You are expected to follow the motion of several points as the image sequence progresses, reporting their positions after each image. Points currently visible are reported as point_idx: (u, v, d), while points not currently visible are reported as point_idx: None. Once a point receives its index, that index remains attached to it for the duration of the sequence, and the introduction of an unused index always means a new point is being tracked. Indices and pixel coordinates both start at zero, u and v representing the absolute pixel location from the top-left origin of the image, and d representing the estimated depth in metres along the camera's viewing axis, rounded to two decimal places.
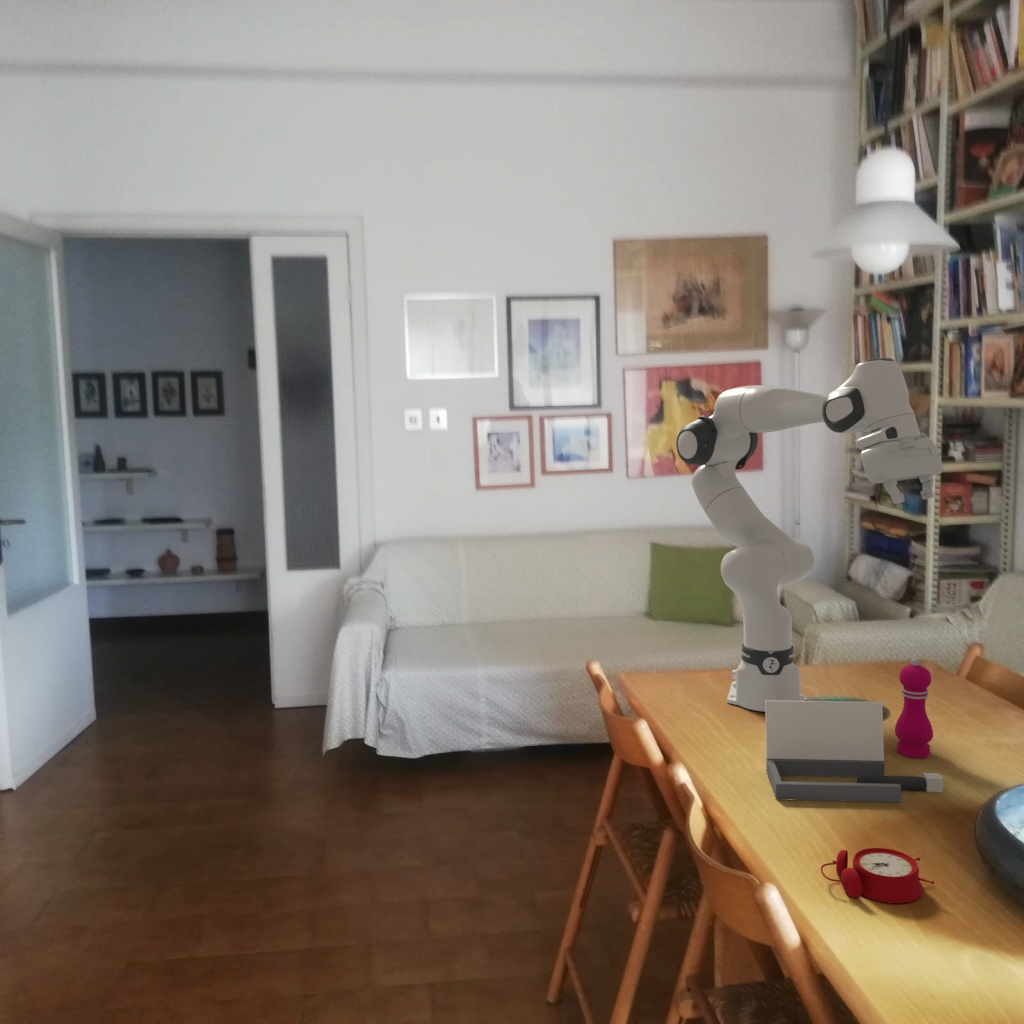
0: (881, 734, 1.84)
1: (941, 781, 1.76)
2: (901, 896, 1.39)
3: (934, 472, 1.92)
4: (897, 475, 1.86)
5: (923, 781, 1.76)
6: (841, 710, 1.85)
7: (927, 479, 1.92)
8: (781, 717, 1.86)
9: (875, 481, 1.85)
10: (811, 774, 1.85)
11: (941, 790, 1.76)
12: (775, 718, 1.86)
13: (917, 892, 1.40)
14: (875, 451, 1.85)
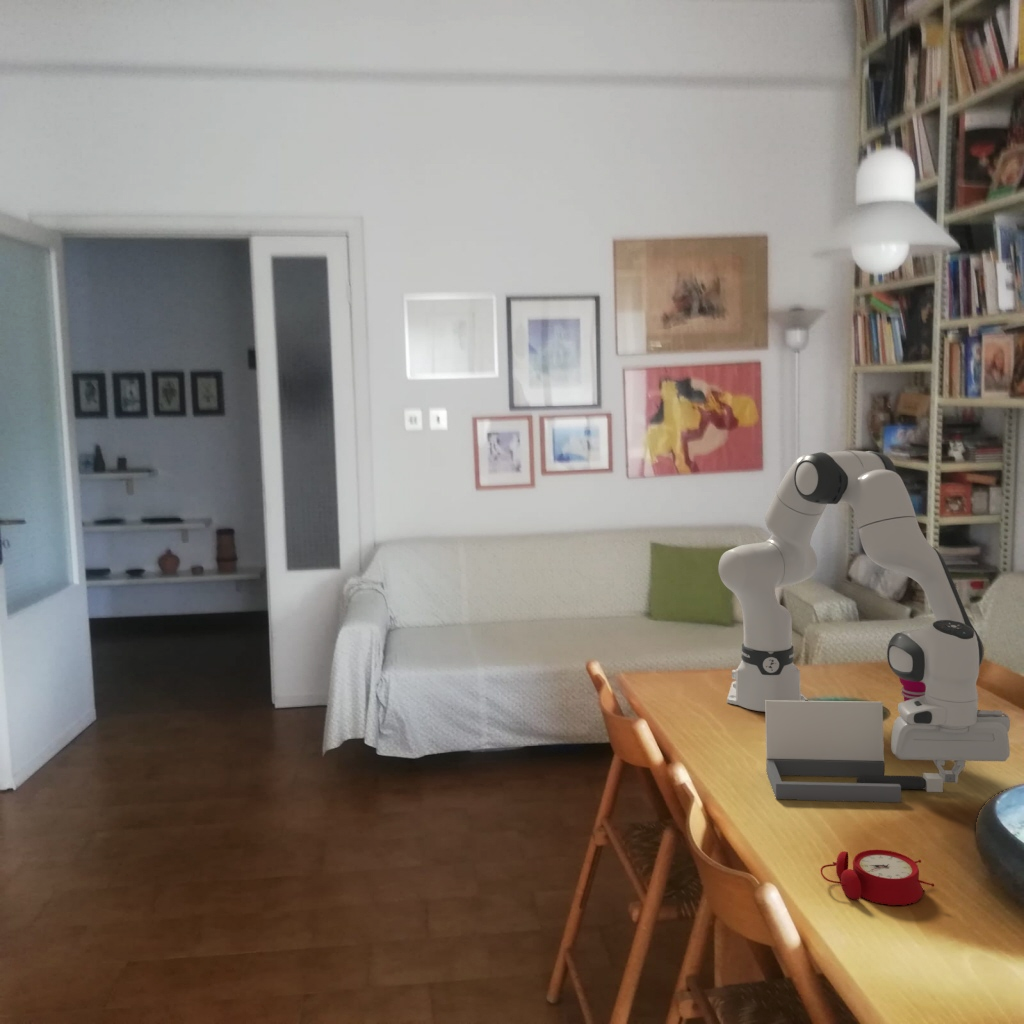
0: (881, 734, 1.84)
1: (941, 781, 1.76)
2: (901, 898, 1.38)
3: (989, 760, 1.74)
4: (921, 757, 1.75)
5: (923, 781, 1.76)
6: (841, 710, 1.85)
7: (956, 763, 1.76)
8: (781, 717, 1.86)
9: None
10: (811, 774, 1.85)
11: (941, 790, 1.76)
12: (775, 718, 1.86)
13: (917, 894, 1.40)
14: (899, 728, 1.75)
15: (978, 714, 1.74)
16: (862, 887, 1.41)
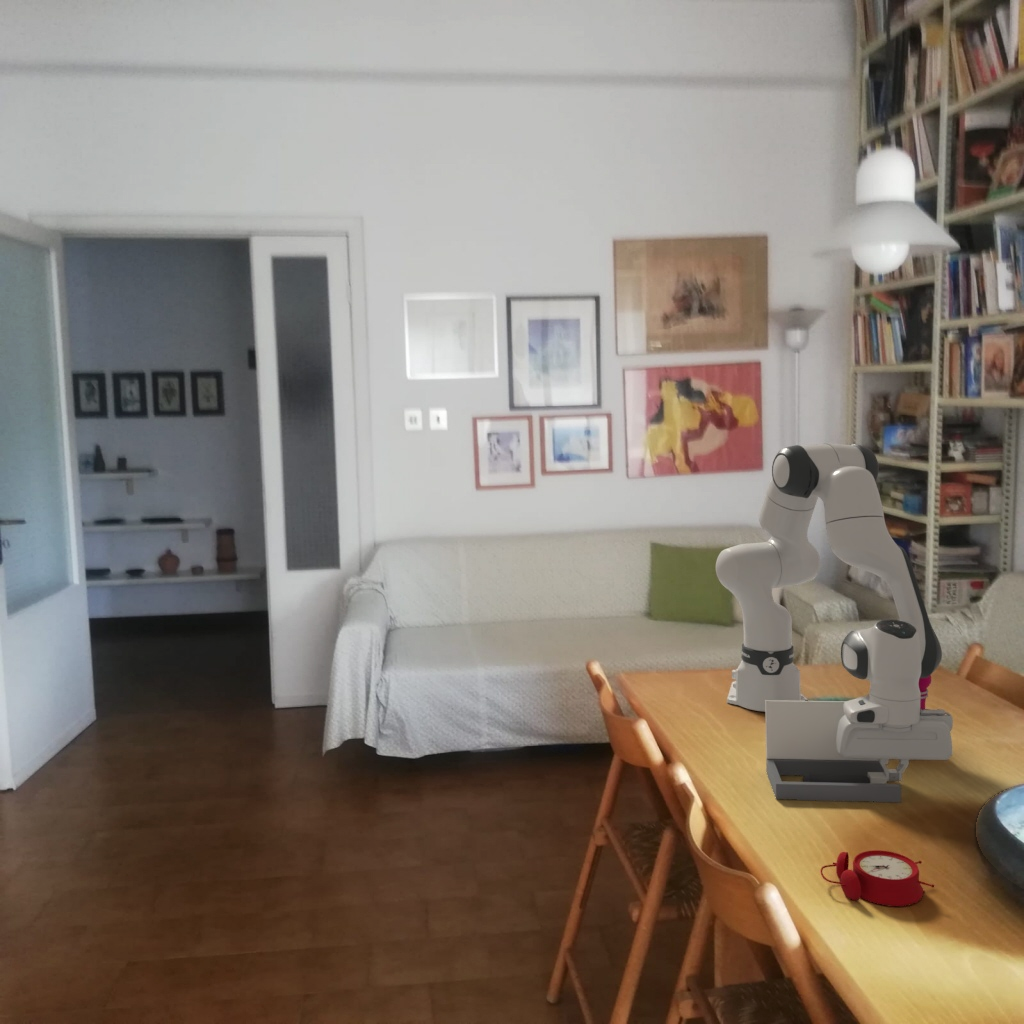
0: None
1: (885, 780, 1.77)
2: (901, 899, 1.38)
3: (932, 759, 1.75)
4: (865, 756, 1.76)
5: (867, 780, 1.78)
6: (841, 710, 1.85)
7: (900, 762, 1.77)
8: (781, 717, 1.86)
9: None
10: None
11: None
12: (775, 718, 1.86)
13: (917, 895, 1.39)
14: (843, 727, 1.77)
15: (921, 713, 1.75)
16: (862, 888, 1.41)
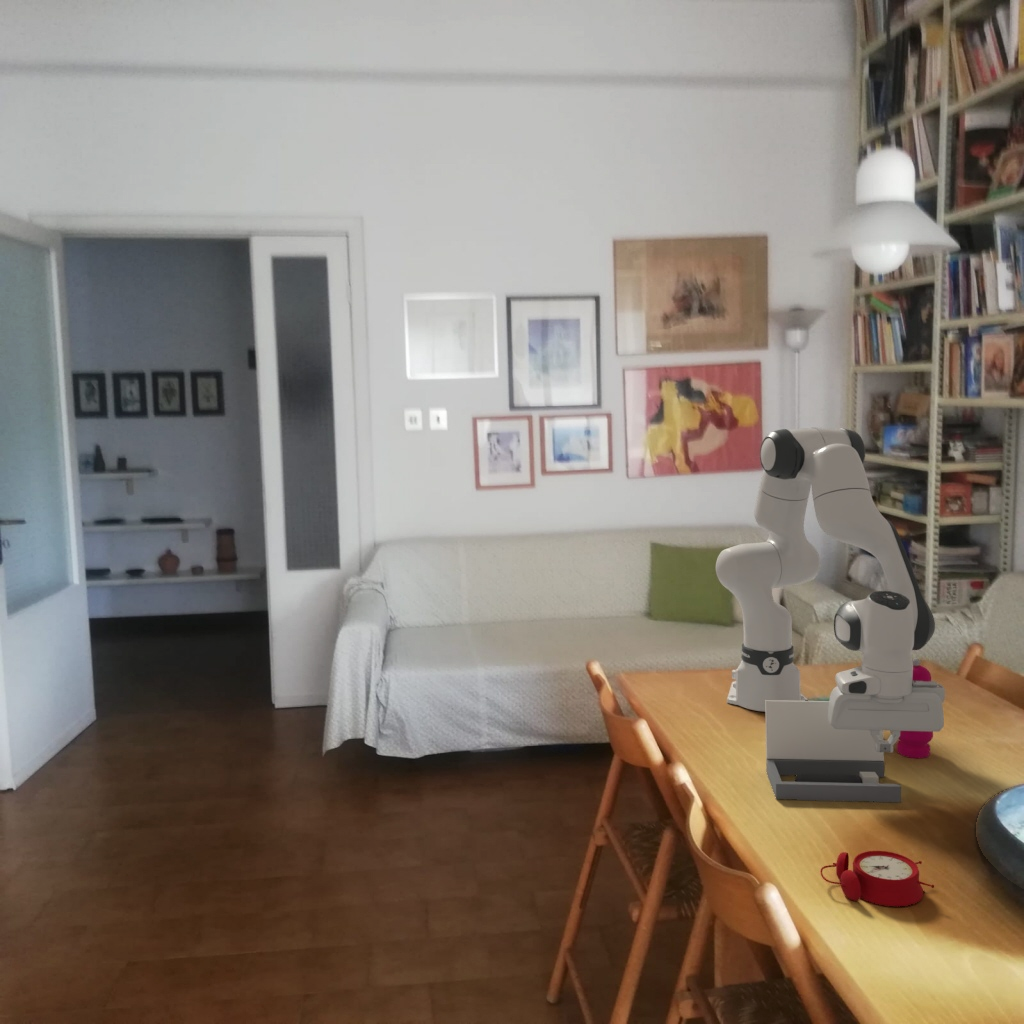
0: (881, 734, 1.84)
1: (877, 779, 1.77)
2: (901, 899, 1.38)
3: (924, 730, 1.75)
4: (856, 727, 1.76)
5: (859, 780, 1.78)
6: None
7: (892, 733, 1.77)
8: (781, 717, 1.86)
9: None
10: None
11: None
12: (775, 718, 1.86)
13: (917, 895, 1.39)
14: (834, 698, 1.76)
15: (913, 685, 1.75)
16: (862, 888, 1.41)
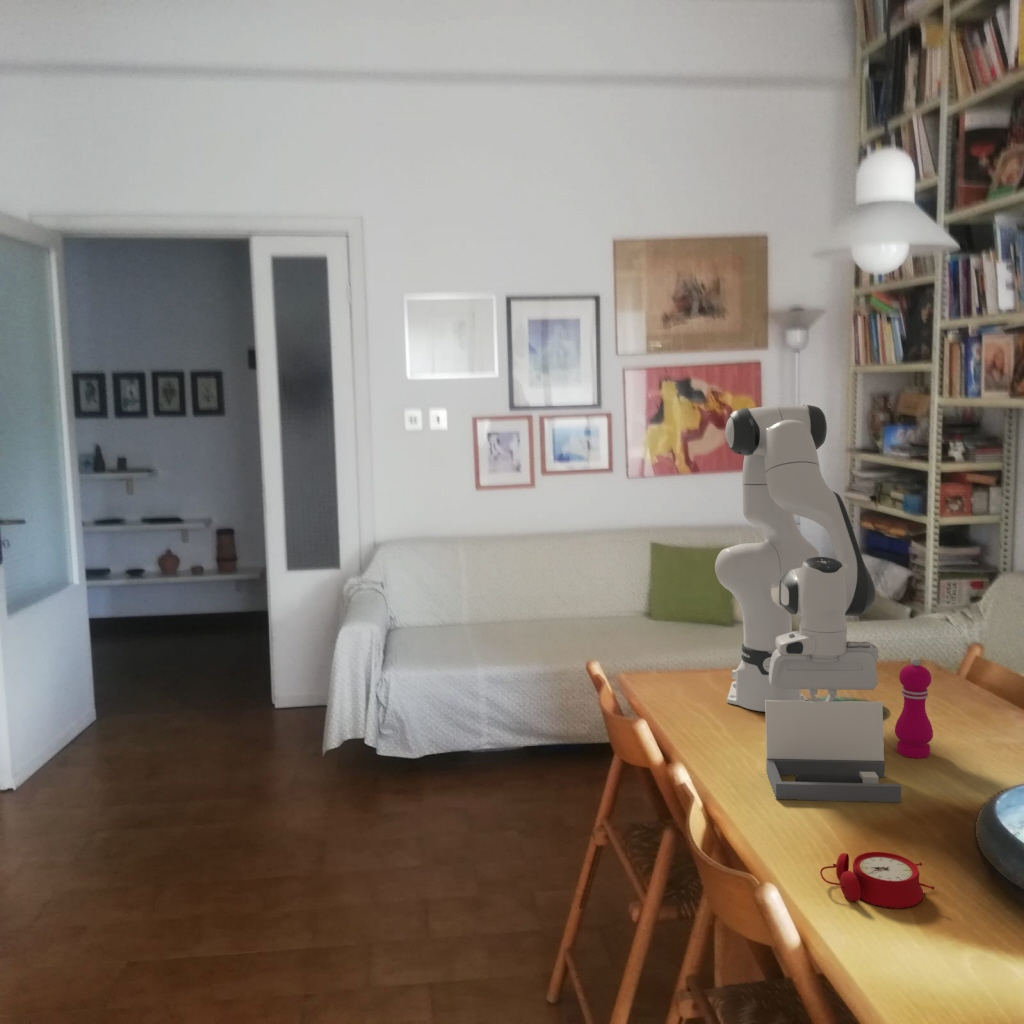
0: (881, 734, 1.83)
1: (877, 780, 1.77)
2: (900, 901, 1.38)
3: (859, 689, 1.84)
4: (795, 687, 1.85)
5: (859, 780, 1.78)
6: (841, 710, 1.85)
7: (829, 692, 1.86)
8: (781, 717, 1.86)
9: None
10: None
11: None
12: (775, 718, 1.86)
13: (917, 897, 1.39)
14: (774, 659, 1.86)
15: (848, 645, 1.84)
16: (861, 889, 1.40)
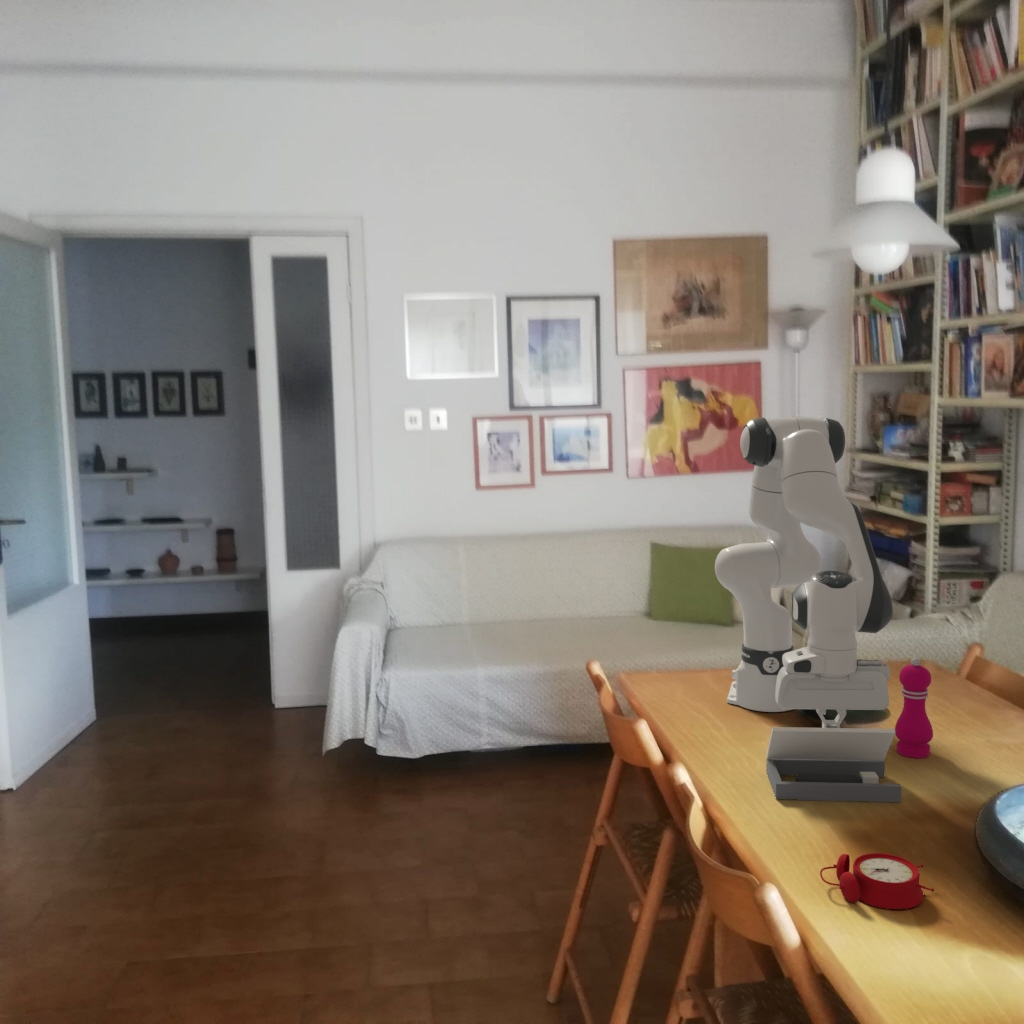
0: (887, 748, 1.80)
1: (877, 780, 1.77)
2: (899, 902, 1.37)
3: (869, 709, 1.76)
4: (803, 707, 1.77)
5: (859, 780, 1.78)
6: (850, 736, 1.77)
7: (838, 712, 1.78)
8: (787, 739, 1.80)
9: None
10: None
11: None
12: (780, 739, 1.80)
13: (917, 899, 1.38)
14: (780, 678, 1.77)
15: (858, 663, 1.76)
16: (861, 890, 1.40)
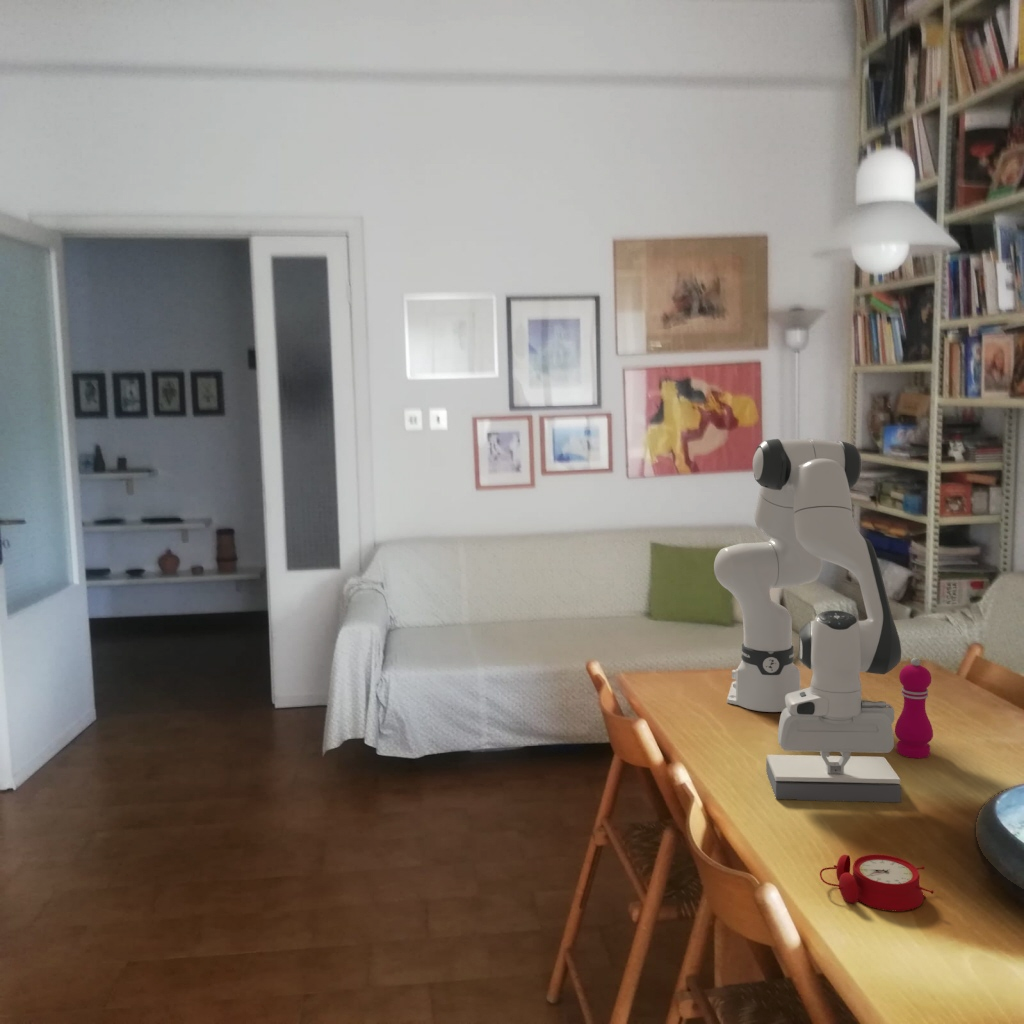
0: None
1: None
2: (898, 904, 1.37)
3: (874, 751, 1.73)
4: (806, 749, 1.74)
5: None
6: None
7: (842, 754, 1.75)
8: None
9: None
10: None
11: None
12: None
13: (916, 900, 1.38)
14: (783, 719, 1.75)
15: (862, 705, 1.73)
16: (860, 891, 1.40)
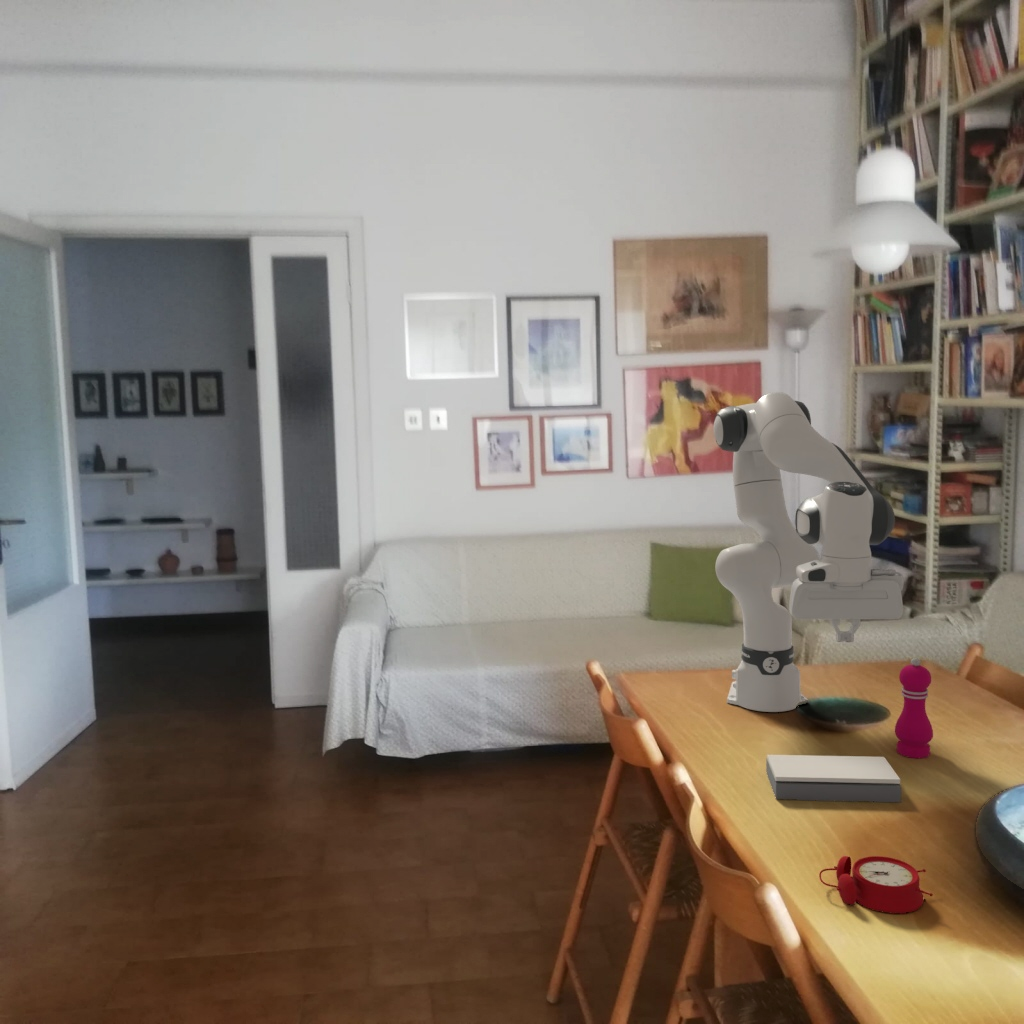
0: None
1: None
2: (897, 906, 1.36)
3: (883, 618, 1.77)
4: (817, 617, 1.78)
5: None
6: None
7: (852, 622, 1.78)
8: None
9: None
10: None
11: None
12: None
13: (916, 903, 1.37)
14: (795, 588, 1.78)
15: (872, 573, 1.77)
16: (859, 892, 1.40)
